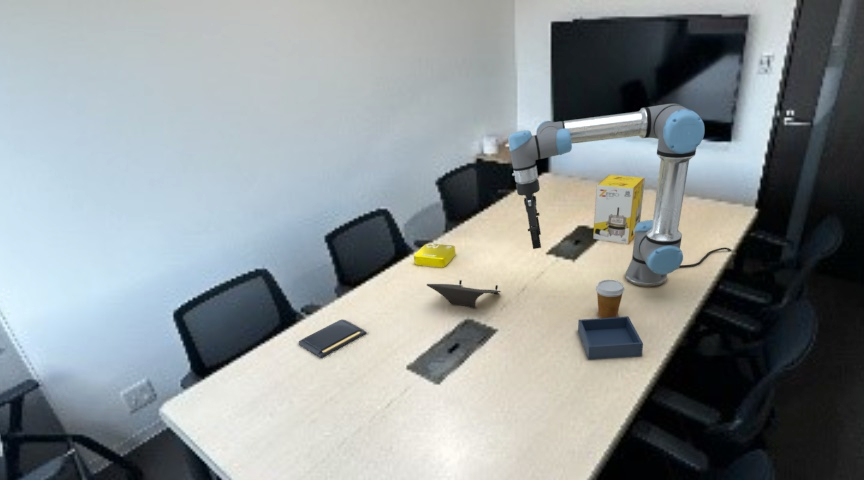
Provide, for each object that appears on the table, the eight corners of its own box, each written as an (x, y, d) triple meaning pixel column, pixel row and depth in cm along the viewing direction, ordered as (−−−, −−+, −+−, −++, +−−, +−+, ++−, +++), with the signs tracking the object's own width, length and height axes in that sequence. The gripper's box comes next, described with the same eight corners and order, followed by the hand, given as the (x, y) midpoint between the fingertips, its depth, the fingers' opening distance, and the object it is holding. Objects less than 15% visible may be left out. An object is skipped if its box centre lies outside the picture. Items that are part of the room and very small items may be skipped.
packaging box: (639, 231, 250) (645, 177, 237) (628, 244, 239) (633, 188, 226) (605, 226, 258) (609, 174, 245) (593, 238, 247) (596, 185, 234)
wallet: (342, 316, 200) (366, 329, 191) (343, 320, 201) (367, 334, 192) (295, 338, 189) (318, 354, 180) (296, 343, 190) (319, 358, 181)
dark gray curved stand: (503, 309, 211) (506, 286, 209) (481, 312, 190) (484, 286, 188) (450, 301, 219) (452, 279, 218) (424, 303, 199) (426, 278, 197)
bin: (627, 328, 182) (628, 316, 179) (641, 356, 168) (643, 343, 165) (577, 331, 183) (578, 319, 180) (588, 359, 169) (589, 347, 166)
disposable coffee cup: (622, 310, 192) (625, 280, 186) (620, 323, 185) (623, 293, 178) (595, 307, 195) (597, 278, 189) (592, 320, 188) (594, 290, 181)
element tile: (413, 265, 238) (411, 255, 236) (427, 251, 250) (426, 241, 247) (444, 268, 233) (443, 258, 230) (457, 254, 244) (456, 244, 242)
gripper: (516, 174, 189) (526, 231, 199) (514, 192, 167) (525, 255, 177) (538, 170, 187) (547, 228, 197) (538, 187, 166) (548, 252, 175)
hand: (537, 241), depth 187 cm, fingers open, 13 cm apart
